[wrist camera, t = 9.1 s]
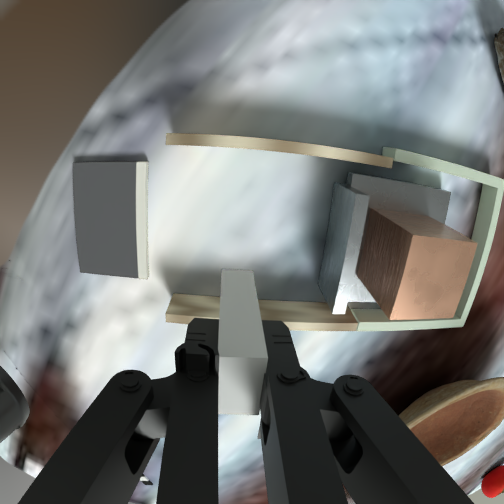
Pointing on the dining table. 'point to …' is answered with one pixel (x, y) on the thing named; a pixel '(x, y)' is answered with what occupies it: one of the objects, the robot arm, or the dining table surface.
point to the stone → (500, 50)
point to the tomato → (493, 482)
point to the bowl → (456, 416)
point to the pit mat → (112, 217)
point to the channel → (288, 312)
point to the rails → (481, 235)
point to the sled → (393, 249)
